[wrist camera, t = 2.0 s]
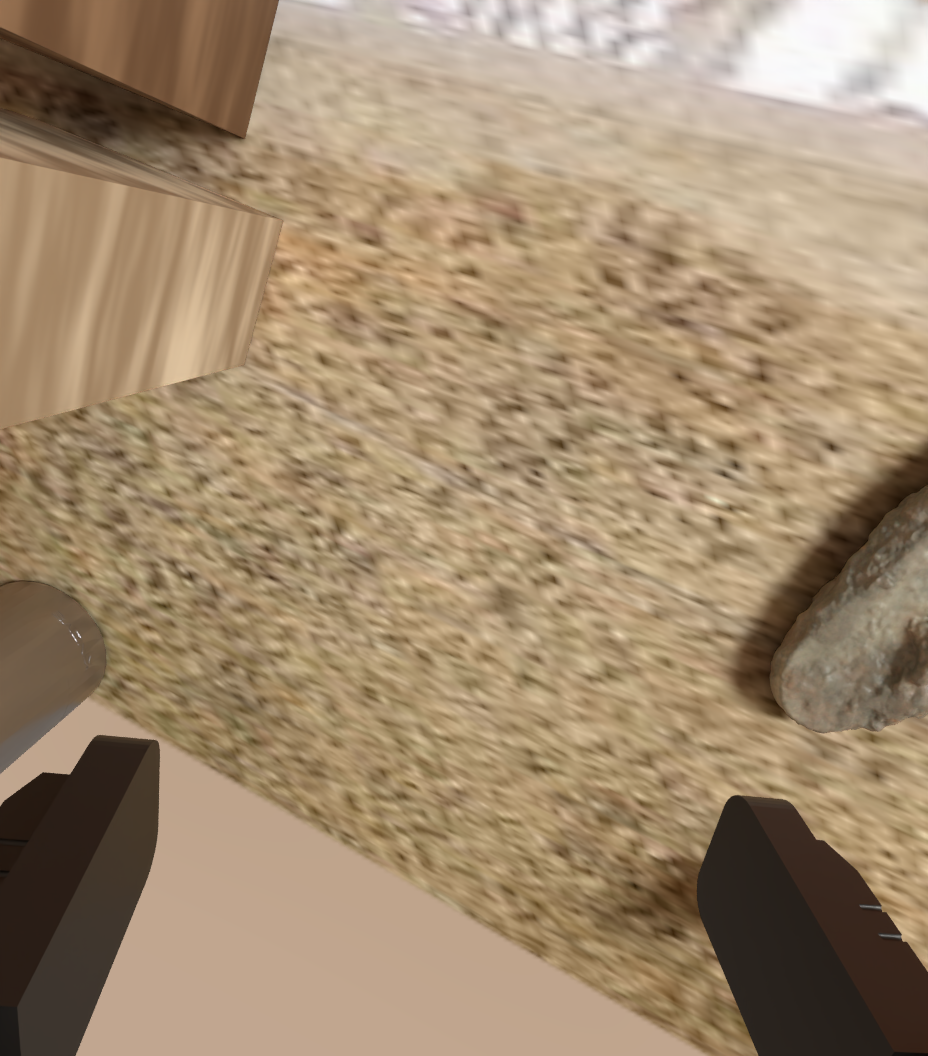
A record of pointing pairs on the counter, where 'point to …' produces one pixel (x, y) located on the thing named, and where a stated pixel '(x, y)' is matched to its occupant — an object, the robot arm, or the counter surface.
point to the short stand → (115, 274)
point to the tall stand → (156, 48)
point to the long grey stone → (864, 634)
